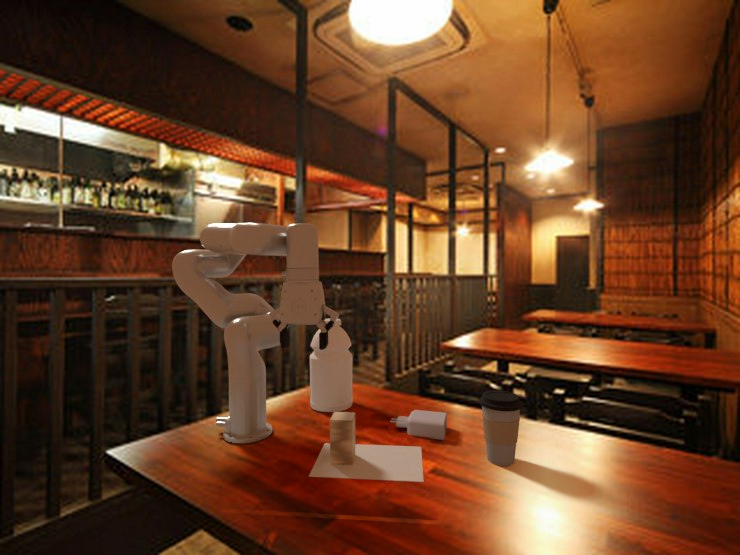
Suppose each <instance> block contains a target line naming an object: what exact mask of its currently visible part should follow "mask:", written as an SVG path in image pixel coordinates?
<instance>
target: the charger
mask: <svg viewBox="0 0 740 555" xmlns="http://www.w3.org/2000/svg"><path fill="white" fill-rule="evenodd" d="M447 418H448V414H447V412H441V411H431V410H430V411H429V410H421V409H414V410H412V411H411V412H410V414H409V416H403V415H398V417H397V418H391V420H390V421H389V422H390V423H393V424H394V423H395V426H396V427H397V428H401V429H402V428H403V429H406V434H407V435H409V436H413V437H414V436H415V437H421V438H422V437H423V438H428V440H438V441H445V438H446V433H447V427H448V425H447V422H448V419H447Z"/></svg>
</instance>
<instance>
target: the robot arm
mask: <svg viewBox="0 0 740 555" xmlns="http://www.w3.org/2000/svg"><path fill="white" fill-rule="evenodd" d="M199 241H200V244H201V246H202V247H203V248H204V249H197V248H195V249H186V250H183V251H180V252H178V253H177V254H176V255H175V256H174V257H173V259H172V262H171V263H172V264H171V268H172V269H171V271H172V275H173V278H174V280H175V283H176V284H177V286H178V288H179V289H180V291H182V292H183V293H184V294H185V295H186V296H187V297H189V298H190V299H191V300H192V301H193V302H194V303H196V305H197V306H198V307H199V308H200V309H201V311H202V312H203V313H204V314H205V315H206V316H207V317H208V318H209V319H210V321H211V322H212V323H213V324H214V325H215V326H217V327H219V328H221V329H224V331H223V339H224V344H225V349H226V355H227V366H228V367H227V368H228V407H229V408H228V417H227V416H217V417H216V419H215V424H216V425H215V426H216V427H217V428H224V430H223V440H225V441H226V442H228V443H231V442H232V444H249V443H250V444H251V443H256V442H259V441H262V440H264V439H266V438H268V437H269V436H270V435H271V434H272V433H273V426H272V424H271V423H269V422H267V371H266V370H267V369H266V364H265V361H264V359H263V358H262V357H261V354H260V353H259V351H261V350H265V349H271V348H275V347H278V346H280V348H281V349H285V348H286V349H287V348H289V346H290V330H289V329H288V328H289V326H290V325H294V326H315V325H316V326H317V328H318V330H319V329H320V330H321V333H319V349H320V350H323V349H325V348H327V345H328V331H329V330H330V329H331V328H332V327H333V326H334V325H335V322H336V320H337V319H339V316H340V314H339V313H338V312H337V311H335V310H333V309H331V308H330V307H328V306H327V305H326V302H325V301H326V300H325V299H326V298H325V294H324V293H325V292H324V288H323V283H322V281H320V276H319V275H320V267H319V266H320V265H319V263H320V261H319V228H318V227H317V225H316V224H313V223H308V222H307V223H305V222H298V223H291V224H288V225H282V224H281V225H280V224H271V223H263V222H235V223H233V222H230V223H229V222H227V223H226V222H225V223H224V222H216V223H215V222H214V223H209V224H207V225H206V226H205V227H203V229H201V231H200V234H199ZM247 255H252V256H253V255H254V256H278V257H285V258H286V269H285V271H282V272H281V277H282V278H285V280H286V282H285V281H284V282H283V283H282V288H281V294H280V300H279V302H280V303H279V304H280V305H279V307H278V308H276V309H274V308H273V306H272V305H271V304H269V302H267V301H266V300H265V299H264V298H263V297H261V296H260V295H258V294H255V293H251V292H250V293H249V292H248V293H247V292H246V293H245V292H244V293H232V292H229V291H228V290H227V289H225V287H223V285H222V284H220V282H219V281H216V280H214V279H213V278H225V277H228V276H230V275H231V274H232V273H233V272H234V271H235V270H236V269H237V267H238V266H239V265H240V264H241V263H242V262H243V260H244V258H245V257H246V256H247ZM326 315H328V316H330V318H331V319H330V321H329V322H328V323H326V322H325V319H326Z"/></svg>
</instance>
